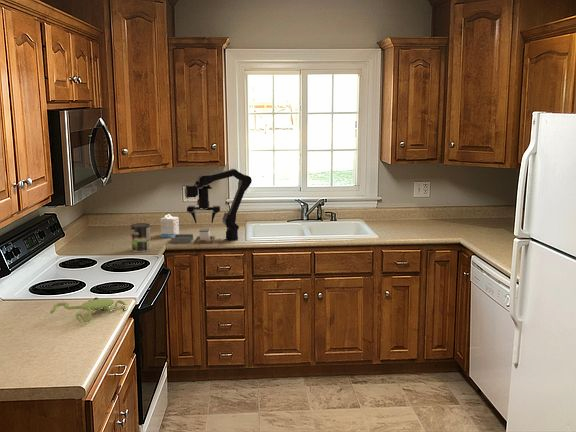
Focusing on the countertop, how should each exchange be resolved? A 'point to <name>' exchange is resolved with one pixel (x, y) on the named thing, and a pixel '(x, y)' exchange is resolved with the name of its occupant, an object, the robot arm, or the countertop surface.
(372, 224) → the countertop surface
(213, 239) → the walnut tray
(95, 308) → the figurine
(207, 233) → the grey-fronted drawer box
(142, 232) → the coffee can
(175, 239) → the grey drawer cabinet
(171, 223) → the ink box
